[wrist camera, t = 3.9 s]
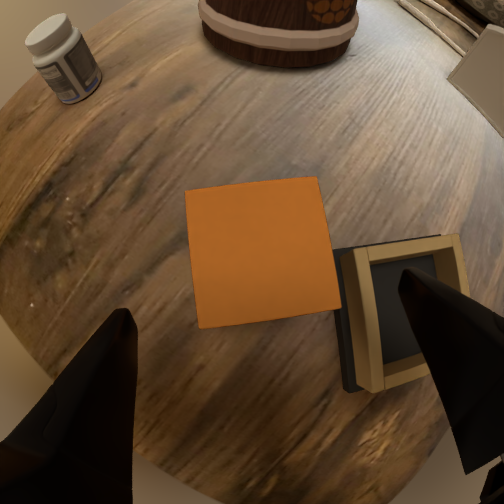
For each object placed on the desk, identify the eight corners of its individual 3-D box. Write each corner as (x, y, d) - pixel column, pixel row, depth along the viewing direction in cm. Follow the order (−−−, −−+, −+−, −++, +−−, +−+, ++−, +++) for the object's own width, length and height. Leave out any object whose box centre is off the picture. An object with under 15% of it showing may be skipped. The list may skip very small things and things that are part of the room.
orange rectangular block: (299, 309, 18) (342, 308, 10) (217, 321, 18) (198, 329, 10) (287, 229, 19) (316, 175, 11) (207, 239, 19) (184, 190, 11)
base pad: (448, 354, 18) (479, 358, 14) (343, 389, 17) (364, 404, 13) (432, 237, 19) (461, 224, 16) (324, 253, 19) (342, 240, 15)
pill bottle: (94, 62, 22) (65, 4, 14) (108, 83, 21) (76, 18, 13) (56, 90, 21) (19, 37, 13) (66, 113, 20) (22, 55, 12)
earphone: (405, -32, 25) (503, -27, 12) (432, 47, 36) (520, 63, 23) (377, -25, 22) (502, -22, 10) (411, 72, 34) (520, 94, 21)
